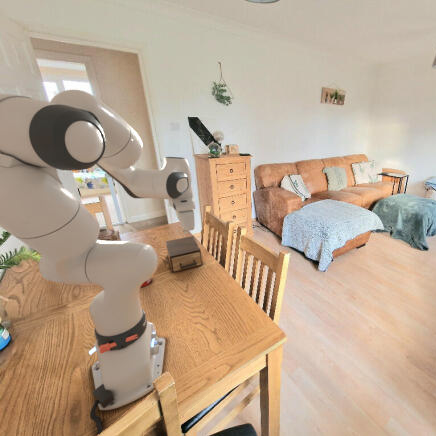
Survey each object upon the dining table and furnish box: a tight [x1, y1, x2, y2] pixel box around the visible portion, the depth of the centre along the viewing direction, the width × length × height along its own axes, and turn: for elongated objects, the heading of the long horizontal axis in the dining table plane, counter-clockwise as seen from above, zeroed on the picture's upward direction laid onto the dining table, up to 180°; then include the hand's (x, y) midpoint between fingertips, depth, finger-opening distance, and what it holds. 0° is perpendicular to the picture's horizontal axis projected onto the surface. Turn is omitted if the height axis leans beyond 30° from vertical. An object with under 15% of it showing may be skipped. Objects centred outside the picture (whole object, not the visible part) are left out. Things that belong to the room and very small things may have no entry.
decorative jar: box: [97, 227, 122, 241], centre depth 113 cm, size 12×12×18 cm
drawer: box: [171, 252, 202, 272], centre depth 117 cm, size 20×12×7 cm, turn 32°
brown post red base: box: [140, 278, 152, 288], centre depth 102 cm, size 6×6×11 cm
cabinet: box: [165, 235, 203, 273], centre depth 120 cm, size 17×14×9 cm
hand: (186, 232), depth 96 cm, fingers closed
